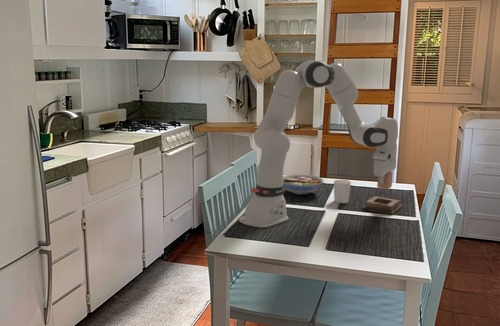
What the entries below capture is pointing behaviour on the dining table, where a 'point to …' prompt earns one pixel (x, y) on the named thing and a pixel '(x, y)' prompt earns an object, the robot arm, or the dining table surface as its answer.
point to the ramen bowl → (301, 183)
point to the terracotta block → (386, 181)
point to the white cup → (341, 191)
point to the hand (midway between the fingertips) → (384, 182)
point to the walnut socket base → (382, 205)
